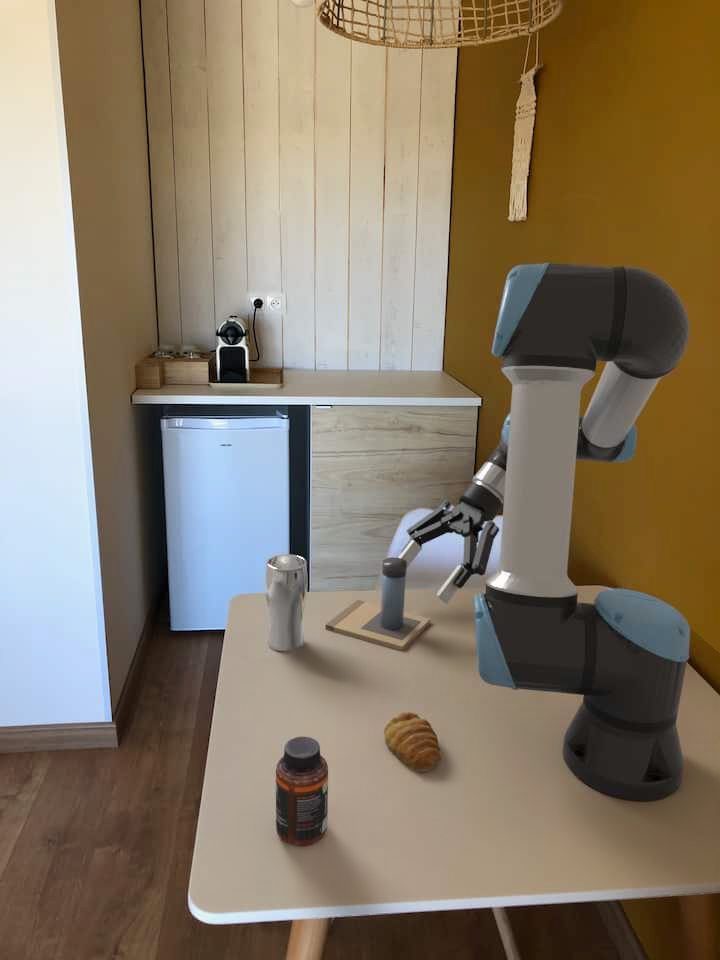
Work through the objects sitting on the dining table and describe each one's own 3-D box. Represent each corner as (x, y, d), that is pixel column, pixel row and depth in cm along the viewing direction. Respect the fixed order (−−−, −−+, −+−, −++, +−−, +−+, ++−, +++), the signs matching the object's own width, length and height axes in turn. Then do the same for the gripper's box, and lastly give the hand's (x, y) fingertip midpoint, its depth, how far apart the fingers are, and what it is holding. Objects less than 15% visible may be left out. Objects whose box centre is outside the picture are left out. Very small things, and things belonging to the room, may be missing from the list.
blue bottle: (397, 632, 135) (400, 568, 131) (375, 626, 137) (378, 563, 133) (407, 622, 138) (410, 560, 135) (386, 617, 140) (389, 555, 137)
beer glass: (268, 655, 128) (268, 571, 123) (263, 635, 134) (262, 555, 130) (310, 651, 129) (311, 568, 125) (303, 632, 136) (303, 552, 131)
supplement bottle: (338, 831, 90) (340, 747, 86) (299, 857, 86) (300, 770, 82) (303, 805, 94) (304, 724, 90) (265, 829, 90) (264, 745, 86)
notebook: (401, 650, 130) (402, 646, 130) (325, 628, 137) (325, 624, 137) (430, 622, 141) (430, 618, 140) (357, 603, 147) (357, 599, 147)
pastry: (453, 769, 101) (454, 744, 100) (406, 781, 99) (407, 755, 98) (422, 729, 110) (423, 705, 109) (378, 738, 107) (379, 714, 106)
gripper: (546, 525, 134) (473, 623, 131) (454, 486, 154) (390, 570, 151) (526, 500, 130) (451, 601, 127) (435, 464, 150) (368, 550, 147)
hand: (417, 584), depth 139 cm, fingers open, 13 cm apart
